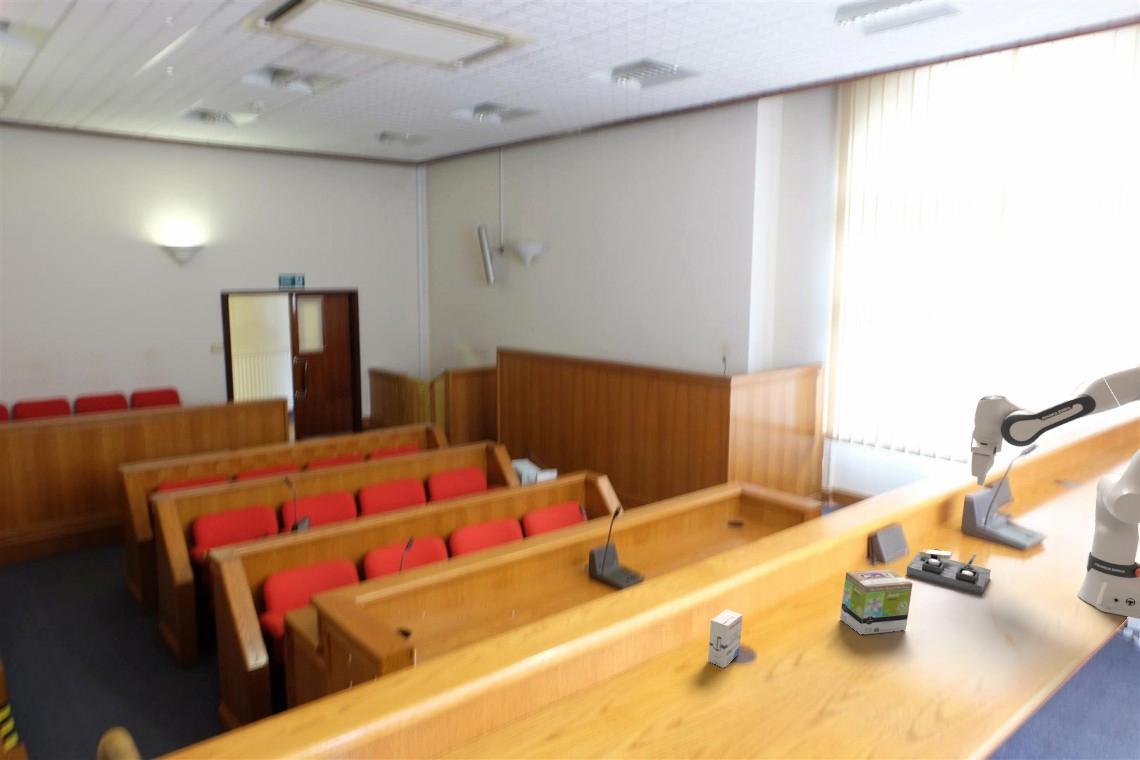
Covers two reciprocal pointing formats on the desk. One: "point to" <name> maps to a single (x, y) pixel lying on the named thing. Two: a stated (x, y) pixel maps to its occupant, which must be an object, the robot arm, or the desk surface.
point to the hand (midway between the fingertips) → (980, 484)
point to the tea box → (876, 601)
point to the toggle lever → (971, 560)
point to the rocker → (936, 553)
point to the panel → (949, 573)
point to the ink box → (725, 637)
